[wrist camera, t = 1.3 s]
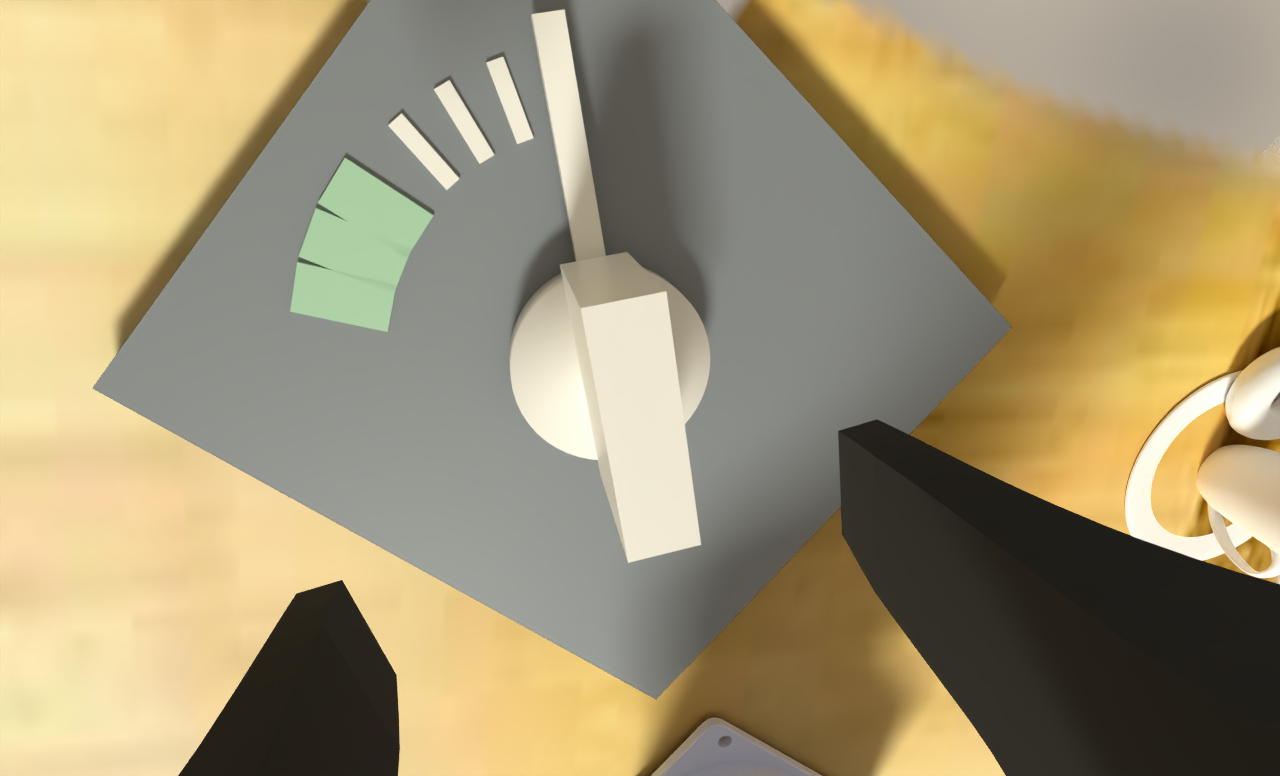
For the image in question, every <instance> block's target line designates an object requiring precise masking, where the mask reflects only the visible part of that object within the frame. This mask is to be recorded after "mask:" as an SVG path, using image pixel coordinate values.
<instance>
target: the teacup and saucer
mask: <svg viewBox="0 0 1280 776" xmlns="http://www.w3.org/2000/svg"><path fill="white" fill-rule="evenodd" d="M1262 154H1263V155H1265V156H1280V134H1279V135H1278V136H1277V137H1276V138H1275V139H1274V141H1273V142H1272V143H1271V144H1270V145H1269V146H1268V147H1267V148H1266V149H1265V150H1264V152H1263V153H1262ZM1223 402H1225V412H1226V416H1227V419H1228V421H1229V424H1230V426H1231V427H1232V428H1233V429H1234V430H1235V431H1236V432H1238V433H1239V434H1241V435H1243V436H1246V437H1248V438H1252V439H1257V440H1274V439H1278V438H1280V347H1278V348H1275V349H1273V350H1271V351H1269V352H1267V353H1265V354H1263V355H1261V356H1260V357H1258V358H1257V359H1256V360H1254V361H1253V362H1252V363H1250V364H1249V365H1248V366H1247V367H1246V368H1245V369H1244V370H1242V371H1238V372H1234V373H1231V374H1228V375H1225V376H1223V377H1220V378H1218V379H1216V380H1214V381H1212V382H1210V383H1208V384H1206V385H1205V386H1203V387H1201V388H1200V389H1198V390H1197V391H1195V392H1194V393H1192V394H1191V395H1189V396H1188V397H1187V398H1185V399H1184V400H1183V401H1182V402H1181V403H1179V404H1178V405H1177V406H1176V407H1175V408H1174V409H1173V410H1172V411H1171V412H1170V413H1169V414H1168V415H1167V416H1166V417H1165V418H1164V419H1163V420H1162V421H1161V423H1160V424H1159V425H1158V426H1157V427H1156V429H1155V430H1154V431H1153V433H1152V434H1151V435H1150V437H1149V438H1148V440H1147V441H1146V443H1145V444H1144V446H1143V448H1142V449H1141V451H1140V453H1139V455H1138V457H1137V459H1136V461H1135V464H1134V466H1133V468H1132V471H1131V474H1130V477H1129V480H1128V484H1127V489H1126V495H1125V517H1126V522H1127V526H1128V529H1129V532H1130V534H1131V536H1133V537H1135V538H1138V539H1141V540H1144V541H1147V542H1150V543H1152V544H1155V545H1158V546H1161V547H1164V548H1167V549H1169V550H1172V551H1175V552H1178V553H1181V554H1184V555H1187V556H1189V557H1192V558H1195V559H1198V560H1201V561H1202V560H1206V559H1210V558H1213V557H1216V556H1218V555H1221V554H1223V553H1226V555H1227V556H1228V557H1229V558H1230V560H1231V561H1232V562H1233V563H1234V564H1235V565H1236V566H1237V567H1239V568H1240V569H1241V570H1242V571H1244V572H1245V573H1247V574H1249V575H1252V576H1255V577H1259V578H1270V577H1274V576H1277V575H1279V574H1280V453H1278V452H1275V451H1272V450H1268V449H1264V448H1260V447H1256V446H1249V445H1227V446H1223V447H1221V448H1219V449H1217V450H1215V451H1214V452H1213V453H1211V454H1210V455H1209V456H1208V457H1207V458H1206V459H1205V461H1204V462H1203V463H1202V465H1201V467H1200V468H1199V471H1198V473H1197V477H1196V485H1197V488H1198V490H1199V492H1200V493H1201V495H1202V496H1203V497H1204V499H1205V500H1206V501H1207V503H1208V516H1209V521H1210V524H1211V527H1212V530H1213V532H1214V533H1212V534H1209V535H1205V536H1200V537H1181V536H1177V535H1174V534H1171V533H1169V532H1168V531H1166V530H1165V529H1163V528H1162V527H1161V526H1160V525H1159V523H1158V522H1157V520H1156V519H1155V517H1154V515H1153V512H1152V508H1151V500H1150V494H1151V485H1152V481H1153V477H1154V474H1155V471H1156V468H1157V466H1158V464H1159V462H1160V460H1161V458H1162V456H1163V454H1164V453H1165V451H1166V449H1167V448H1168V446H1169V445H1170V444H1171V442H1172V441H1173V440H1174V439H1175V437H1176V436H1177V435H1178V434H1179V433H1180V432H1181V431H1182V430H1183V429H1184V428H1185V427H1186V426H1187V425H1188V424H1189V423H1190V422H1191V421H1193V420H1194V419H1195V418H1196V417H1198V416H1199V415H1201V414H1202V413H1204V412H1205V411H1207V410H1208V409H1210V408H1212V407H1214V406H1216V405H1218V404H1221V403H1223ZM1222 515H1223V516H1224V517H1225V518H1227V519H1228V520H1229V521H1231V522H1232V523H1233V524H1231V525H1230V526H1228V527H1225V524H1224V520H1223V517H1222ZM1252 536H1253V537H1255V538H1256V539H1258V540H1259V541H1261V542H1262V543H1264V544H1265V545H1266V546H1268V547H1269V548H1270V551H1271V556H1272V564H1271V566H1270V567H1269V568H1268V569H1267V570H1264V571H1261V572H1257V571H1255V570H1254V569H1252V568H1251V567H1250V566H1249V565H1248V564H1247V563H1246V562H1245V561H1244V559H1243V558H1242V557H1241V556H1240V554H1239V553H1238V552H1237V550H1236V549H1235V547H1237V546H1239V545H1240V544H1242V543H1243V542H1245V541H1247V540H1248V539H1249V538H1251V537H1252ZM1278 584H1280V577H1279V582H1278Z"/></svg>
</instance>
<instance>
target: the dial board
mask: <svg viewBox="0 0 1280 776" xmlns="http://www.w3.org/2000/svg"><path fill="white" fill-rule="evenodd" d="M564 9H565V15H566V21H567V27H568V33H569V39H570V45H571V51H572V57H573V63H574V69H575V75H576V81H577V87H578V93H579V99H580V105H581V111H582V117H583V123H584V129H585V135H586V141H587V147H588V153H589V159H590V165H591V171H592V177H593V183H594V189H595V194H596V200H597V206H598V212H599V218H600V224H601V230H602V236H603V242H604V248H605V254H606V256H607V255H613V254H618V253H623V252H628V253H629V254H630V255H631V256H632V257H633V258H634V259H635V260H636V261H637V262H638V263H639V264H640V265H641V266H642V267H644V268H647V269H649V270H651V271H653V272H655V273H657V274H658V275H660V276H661V277H663V278H664V279H666V280H667V281H668V282H669V283H670V284H672V285H673V286H674V287H675V288H676V289H677V290H678V291H679V292H680V293H681V294H682V295H683V296H684V297H685V298H686V299H687V300H688V301H689V302H690V303H691V304H692V306H693V307H694V309H695V310H696V312H697V313H698V315H699V317H700V319H701V321H702V323H703V325H704V328H705V331H706V334H707V337H708V342H709V347H710V371H709V377H708V382H707V386H706V389H705V391H704V394H703V397H702V399H701V401H700V403H699V405H698V407H697V409H696V410H695V412H694V413H693V415H692V416H691V418H690V419H689V420H688V421H687V422H686V423H685V430H686V438H687V445H688V452H689V460H690V467H691V474H692V481H693V489H694V496H695V503H696V511H697V518H698V525H699V532H700V540H701V545H698V546H694V547H690V548H686V549H682V550H678V551H674V552H670V553H666V554H662V555H658V556H654V557H650V558H646V559H642V560H638V561H634V562H630V563H628V561H627V558H626V555H625V551H624V548H623V545H622V542H621V539H620V535H619V532H618V529H617V526H616V523H615V520H614V516H613V513H612V510H611V507H610V504H609V500H608V497H607V494H606V491H605V488H604V485H603V481H602V478H601V475H600V470H599V465H598V460H592V459H587V458H581V457H577V456H574V455H571V454H568V453H566V452H564V451H562V450H560V449H558V448H556V447H554V446H553V445H551V444H550V443H548V442H547V441H545V440H544V439H543V438H542V437H541V436H539V435H538V434H537V433H536V432H535V431H534V430H533V428H532V427H531V426H530V425H529V424H528V422H527V421H526V419H525V418H524V416H523V415H522V413H521V411H520V409H519V407H518V405H517V403H516V400H515V396H514V393H513V389H512V383H511V376H510V366H509V349H510V341H511V337H512V333H513V329H514V326H515V324H516V321H517V319H518V317H519V315H520V313H521V311H522V310H523V308H524V306H525V305H526V303H527V302H528V301H529V299H530V298H531V297H532V296H533V294H534V293H535V292H536V291H537V290H538V289H539V288H540V287H541V286H543V285H544V284H545V283H546V282H548V281H549V280H550V279H552V278H553V277H555V276H557V275H558V274H560V273H561V269H560V264H565V263H571V262H576V260H575V254H574V249H573V243H572V238H571V232H570V227H569V222H568V216H567V211H566V205H565V200H564V194H563V189H562V184H561V178H560V173H559V167H558V162H557V156H556V151H555V146H554V140H553V135H552V129H551V124H550V118H549V113H548V108H547V102H546V97H545V91H544V86H543V81H542V75H541V70H540V64H539V59H538V53H537V48H536V43H535V37H534V32H533V26H532V21H531V15H532V14H536V13H543V12H550V11H557V10H564ZM1011 328H1012V326H1011V325H1010V324H1009V323H1008V322H1007V321H1006V320H1005V318H1004V317H1003V316H1002V315H1001V314H1000V313H999V312H998V311H997V310H996V309H995V307H994V306H993V305H992V304H991V303H990V302H989V301H988V300H987V299H986V298H985V296H984V295H983V294H982V293H981V292H980V291H979V290H978V289H977V288H976V287H975V285H974V284H973V283H972V282H971V281H970V280H969V279H968V278H967V277H966V276H965V274H964V273H963V272H962V271H961V270H960V269H959V268H958V267H957V266H956V265H955V263H954V262H953V261H952V260H951V259H950V258H949V257H948V256H947V255H946V254H945V252H944V251H943V250H942V249H941V248H940V247H939V246H938V245H937V244H936V242H935V241H934V240H933V239H932V238H931V237H930V236H929V235H928V234H927V233H926V231H925V230H924V229H923V228H922V227H921V226H920V225H919V224H918V223H917V222H916V220H915V219H914V218H913V217H912V216H911V215H910V214H909V213H908V212H907V211H906V209H905V208H904V207H903V206H902V205H901V204H900V203H899V202H898V201H897V200H896V198H895V197H894V196H893V195H892V194H891V193H890V192H889V191H888V190H887V189H886V187H885V186H884V185H883V184H882V183H881V182H880V181H879V180H878V179H877V178H876V176H875V175H874V174H873V173H872V172H871V171H870V170H869V169H868V168H867V166H866V165H865V164H864V163H863V162H862V161H861V160H860V159H859V158H858V157H857V155H856V154H855V153H854V152H853V151H852V150H851V149H850V148H849V147H848V146H847V144H846V143H845V142H844V141H843V140H842V139H841V138H840V137H839V136H838V135H837V133H836V132H835V131H834V130H833V129H832V128H831V127H830V126H829V125H828V124H827V122H826V121H825V120H824V119H823V118H822V117H821V116H820V115H819V114H818V113H817V111H816V110H815V109H814V108H813V107H812V106H811V105H810V104H809V103H808V102H807V100H806V99H805V98H804V97H803V96H802V95H801V94H800V93H799V92H798V90H797V89H796V88H795V87H794V86H793V85H792V84H791V83H790V82H789V81H788V79H787V78H786V77H785V76H784V75H783V74H782V73H781V72H780V71H779V70H778V68H777V67H776V66H775V65H774V64H773V63H772V62H771V61H770V60H769V59H768V57H767V56H766V55H765V54H764V53H763V52H762V51H761V50H760V49H759V48H758V46H757V45H756V44H755V43H754V42H753V41H752V40H751V39H750V38H749V37H748V35H747V34H746V33H745V32H744V31H743V30H742V29H741V28H740V27H739V26H738V24H737V23H736V22H735V21H734V20H733V19H732V18H731V17H730V16H729V14H728V13H727V12H726V11H725V10H724V9H723V8H722V7H721V6H720V5H719V4H718V2H717V1H716V0H370V2H369V3H368V4H367V6H366V7H365V9H364V10H363V11H362V13H361V14H360V16H359V17H358V18H357V20H356V21H355V23H354V24H353V25H352V27H351V28H350V30H349V31H348V32H347V34H346V35H345V37H344V38H343V39H342V41H341V42H340V44H339V45H338V46H337V48H336V49H335V50H334V52H333V53H332V55H331V56H330V57H329V59H328V60H327V62H326V63H325V64H324V66H323V67H322V69H321V70H320V71H319V73H318V74H317V76H316V77H315V78H314V80H313V81H312V83H311V84H310V85H309V87H308V88H307V90H306V91H305V92H304V94H303V95H302V97H301V98H300V99H299V101H298V102H297V103H296V105H295V106H294V108H293V109H292V110H291V112H290V113H289V115H288V116H287V117H286V119H285V120H284V122H283V123H282V124H281V126H280V127H279V129H278V130H277V131H276V133H275V134H274V136H273V137H272V138H271V140H270V141H269V143H268V144H267V145H266V147H265V148H264V150H263V151H262V152H261V154H260V155H259V156H258V158H257V159H256V161H255V162H254V163H253V165H252V166H251V168H250V169H249V170H248V172H247V173H246V175H245V176H244V177H243V179H242V180H241V182H240V183H239V184H238V186H237V187H236V189H235V190H234V191H233V193H232V194H231V196H230V197H229V198H228V200H227V201H226V203H225V204H224V205H223V207H222V208H221V209H220V211H219V212H218V214H217V215H216V216H215V218H214V219H213V221H212V222H211V223H210V225H209V226H208V228H207V229H206V230H205V232H204V233H203V235H202V236H201V237H200V239H199V240H198V242H197V243H196V244H195V246H194V247H193V249H192V250H191V251H190V253H189V254H188V256H187V257H186V258H185V260H184V261H183V262H182V264H181V265H180V267H179V268H178V269H177V271H176V272H175V274H174V275H173V276H172V278H171V279H170V281H169V282H168V283H167V285H166V286H165V288H164V289H163V290H162V292H161V293H160V295H159V296H158V297H157V299H156V300H155V302H154V303H153V304H152V306H151V307H150V309H149V310H148V311H147V313H146V314H145V315H144V317H143V318H142V320H141V321H140V322H139V324H138V325H137V327H136V328H135V329H134V331H133V332H132V334H131V335H130V336H129V338H128V339H127V341H126V342H125V343H124V345H123V346H122V348H121V349H120V350H119V352H118V353H117V355H116V356H115V357H114V359H113V360H112V362H111V363H110V364H109V366H108V367H107V368H106V370H105V371H104V373H103V374H102V375H101V377H100V378H99V380H98V381H97V382H96V384H95V385H94V387H93V389H95V390H96V391H98V392H100V393H102V394H104V395H105V396H107V397H109V398H111V399H113V400H115V401H116V402H118V403H120V404H122V405H124V406H125V407H127V408H129V409H131V410H133V411H134V412H136V413H138V414H140V415H142V416H144V417H145V418H147V419H149V420H151V421H153V422H154V423H156V424H158V425H160V426H162V427H163V428H165V429H167V430H169V431H171V432H173V433H174V434H176V435H178V436H180V437H182V438H183V439H185V440H187V441H189V442H191V443H192V444H194V445H196V446H198V447H200V448H201V449H203V450H205V451H207V452H209V453H211V454H212V455H214V456H216V457H218V458H220V459H221V460H223V461H225V462H227V463H229V464H230V465H232V466H234V467H236V468H238V469H240V470H241V471H243V472H245V473H247V474H249V475H250V476H252V477H254V478H256V479H258V480H259V481H261V482H263V483H265V484H267V485H269V486H270V487H272V488H274V489H276V490H278V491H279V492H281V493H283V494H285V495H287V496H288V497H290V498H292V499H294V500H296V501H297V502H299V503H301V504H303V505H305V506H307V507H308V508H310V509H312V510H314V511H316V512H317V513H319V514H321V515H323V516H325V517H326V518H328V519H330V520H332V521H334V522H336V523H337V524H339V525H341V526H343V527H345V528H346V529H348V530H350V531H352V532H354V533H355V534H357V535H359V536H361V537H363V538H365V539H366V540H368V541H370V542H372V543H374V544H375V545H377V546H379V547H381V548H383V549H384V550H386V551H388V552H390V553H392V554H394V555H395V556H397V557H399V558H401V559H403V560H404V561H406V562H408V563H410V564H412V565H413V566H415V567H417V568H419V569H421V570H422V571H424V572H426V573H428V574H430V575H432V576H433V577H435V578H437V579H439V580H441V581H442V582H444V583H446V584H448V585H450V586H451V587H453V588H455V589H457V590H459V591H461V592H462V593H464V594H466V595H468V596H470V597H471V598H473V599H475V600H477V601H479V602H480V603H482V604H484V605H486V606H488V607H490V608H491V609H493V610H495V611H497V612H499V613H500V614H502V615H504V616H506V617H508V618H509V619H511V620H513V621H515V622H517V623H518V624H520V625H522V626H524V627H526V628H528V629H529V630H531V631H533V632H535V633H537V634H538V635H540V636H542V637H544V638H546V639H547V640H549V641H551V642H553V643H555V644H557V645H558V646H560V647H562V648H564V649H566V650H567V651H569V652H571V653H573V654H575V655H576V656H578V657H580V658H582V659H584V660H586V661H587V662H589V663H591V664H593V665H595V666H596V667H598V668H600V669H602V670H604V671H605V672H607V673H609V674H611V675H613V676H614V677H616V678H618V679H620V680H622V681H624V682H625V683H627V684H629V685H631V686H633V687H634V688H636V689H638V690H640V691H642V692H643V693H645V694H647V695H649V696H651V697H653V698H654V699H657V698H658V697H659V696H660V695H661V694H662V693H663V692H664V691H665V690H666V689H667V688H668V686H669V685H670V684H671V683H672V682H673V681H674V680H675V679H676V678H677V677H678V676H679V675H680V674H681V673H682V672H683V671H684V670H685V669H686V668H687V667H688V666H689V665H690V664H691V662H692V661H693V660H694V659H695V658H696V657H697V656H698V655H699V654H700V653H701V652H702V651H703V650H704V649H705V648H706V647H707V646H708V645H709V644H710V643H711V642H712V641H713V639H714V638H715V637H716V636H717V635H718V634H719V633H720V632H721V631H722V630H723V629H724V628H725V627H726V626H727V625H728V624H729V623H730V622H731V621H732V620H733V619H734V618H735V616H736V615H737V614H738V613H739V612H740V611H741V610H742V609H743V608H744V607H745V606H746V605H747V604H748V603H749V602H750V601H751V600H752V599H753V598H754V597H755V596H756V595H757V593H758V592H759V591H760V590H761V589H762V588H763V587H764V586H765V585H766V584H767V583H768V582H769V581H770V580H771V579H772V578H773V577H774V576H775V575H776V574H777V573H778V572H779V570H780V569H781V568H782V567H783V566H784V565H785V564H786V563H787V562H788V561H789V560H790V559H791V558H792V557H793V556H794V555H795V554H796V553H797V552H798V551H799V550H800V549H801V547H802V546H803V545H804V544H805V543H806V542H807V541H808V540H809V539H810V538H811V537H812V536H813V535H814V534H815V533H816V532H817V531H818V530H819V529H820V528H821V527H822V526H823V524H824V523H825V522H826V521H827V520H828V519H829V518H830V517H831V516H832V515H833V514H834V513H835V512H836V511H837V510H838V509H839V508H840V507H841V492H840V467H839V441H838V431H839V430H843V429H846V428H849V427H853V426H856V425H859V424H863V423H866V422H869V421H873V420H876V419H877V420H880V421H882V422H884V423H886V424H888V425H890V426H892V427H894V428H896V429H899V430H901V431H903V432H905V433H907V434H909V435H910V434H911V433H912V431H913V430H914V429H915V428H916V427H917V426H918V425H919V424H920V423H921V422H922V421H923V420H924V419H925V418H926V417H927V416H928V415H929V414H930V413H931V412H932V411H933V410H934V408H935V407H936V406H937V405H938V404H939V403H940V402H941V401H942V400H943V399H944V398H945V397H946V396H947V395H948V394H949V393H950V392H951V391H952V390H953V389H954V388H955V387H956V385H957V384H958V383H959V382H960V381H961V380H962V379H963V378H964V377H965V376H966V375H967V374H968V373H969V372H970V371H971V370H972V369H973V368H974V367H975V366H976V365H977V364H978V362H979V361H980V360H981V359H982V358H983V357H984V356H985V355H986V354H987V353H988V352H989V351H990V350H991V349H992V348H993V347H994V346H995V345H996V344H997V343H998V342H999V341H1000V340H1001V338H1002V337H1003V336H1004V335H1005V334H1006V333H1007V332H1008V331H1009V330H1010V329H1011Z"/></svg>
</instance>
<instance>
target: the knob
mask: <svg viewBox="0 0 1280 776" xmlns="http://www.w3.org/2000/svg"><path fill="white" fill-rule="evenodd" d="M531 21H532V26H533V32H534V37H535V43H536V48H537V53H538V59H539V64H540V70H541V75H542V81H543V86H544V91H545V97H546V102H547V108H548V113H549V118H550V124H551V129H552V135H553V140H554V146H555V151H556V156H557V162H558V167H559V173H560V178H561V184H562V189H563V194H564V200H565V205H566V211H567V216H568V222H569V227H570V232H571V238H572V243H573V249H574V254H575V260H576V262H571V263H565V264H560V269H561V273H560V274H558V275H557V276H555V277H553V278H552V279H550V280H549V281H548V282H546V283H545V284H544V285H543V286H541V287H540V288H539V289H538V290H537V291H536V292H535V293H534V294H533V296H532V297H531V298H530V299H529V301H528V302H527V303H526V305H525V306H524V308H523V310H522V311H521V313H520V315H519V317H518V319H517V321H516V324H515V326H514V329H513V333H512V337H511V341H510V349H509V366H510V376H511V383H512V389H513V393H514V396H515V400H516V403H517V405H518V407H519V409H520V411H521V413H522V415H523V416H524V418H525V419H526V421H527V422H528V424H529V425H530V426H531V427H532V428H533V430H534V431H535V432H536V433H537V434H538V435H539V436H541V437H542V438H543V439H544V440H545V441H547V442H548V443H550V444H551V445H553V446H554V447H556V448H558V449H560V450H562V451H564V452H566V453H568V454H571V455H574V456H577V457H581V458H587V459H592V460H598V465H599V470H600V475H601V478H602V481H603V485H604V488H605V491H606V494H607V497H608V500H609V504H610V507H611V510H612V513H613V516H614V520H615V523H616V526H617V529H618V532H619V535H620V539H621V542H622V545H623V548H624V551H625V555H626V558H627V561H628V563H630V562H634V561H638V560H642V559H646V558H650V557H654V556H658V555H662V554H666V553H670V552H674V551H678V550H682V549H686V548H690V547H694V546H698V545H701V540H700V532H699V525H698V518H697V511H696V503H695V496H694V489H693V481H692V474H691V467H690V460H689V452H688V445H687V438H686V430H685V423H686V422H687V421H688V420H689V419H690V418H691V416H692V415H693V413H694V412H695V410H696V409H697V407H698V405H699V403H700V401H701V399H702V397H703V394H704V391H705V389H706V386H707V382H708V377H709V371H710V347H709V342H708V337H707V334H706V331H705V328H704V325H703V323H702V321H701V319H700V317H699V315H698V313H697V312H696V310H695V309H694V307H693V306H692V304H691V303H690V302H689V301H688V300H687V299H686V298H685V297H684V296H683V295H682V294H681V293H680V292H679V291H678V290H677V289H676V288H675V287H674V286H673V285H672V284H670V283H669V282H668V281H667V280H666V279H664V278H663V277H661V276H660V275H658V274H657V273H655V272H653V271H651V270H649V269H647V268H644V267H642V266H641V265H640V264H639V263H638V262H637V261H636V260H635V259H634V258H633V257H632V256H631V255H630V254H629V253H628V252H623V253H618V254H613V255H607V256H606V254H605V248H604V242H603V236H602V230H601V224H600V218H599V212H598V206H597V200H596V194H595V189H594V183H593V177H592V171H591V165H590V159H589V153H588V147H587V141H586V135H585V129H584V123H583V117H582V111H581V105H580V99H579V93H578V87H577V81H576V75H575V69H574V63H573V57H572V51H571V45H570V39H569V33H568V27H567V21H566V15H565V9H564V10H557V11H550V12H543V13H536V14H532V15H531Z"/></svg>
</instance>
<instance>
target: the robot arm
mask: <svg viewBox="0 0 1280 776" xmlns="http://www.w3.org/2000/svg"><path fill="white" fill-rule="evenodd" d="M838 441H839V467H840V492H841V517H842V534H843V536H844V538H845V540H846V541H847V543H848V545H849V547H850V549H851V551H852V552H853V554H854V556H855V558H856V560H857V562H858V563H859V565H860V567H861V569H862V570H863V572H864V574H865V576H866V577H867V579H868V581H869V583H870V584H871V586H872V588H873V589H874V591H875V593H876V594H877V596H878V597H879V598H880V600H881V601H882V603H883V604H884V605H885V607H886V608H887V609H888V611H889V612H890V614H891V615H892V616H893V618H894V619H895V620H896V622H897V623H898V624H899V626H900V627H901V629H902V630H903V631H904V633H905V634H906V635H907V637H908V638H909V639H910V641H911V642H912V643H913V645H914V646H915V648H916V649H917V650H918V652H919V653H920V654H921V656H922V657H923V658H924V660H925V661H926V662H927V664H928V665H929V666H930V668H931V669H932V670H933V672H934V673H935V674H936V676H937V677H938V678H939V680H940V681H941V683H942V684H943V685H944V687H945V688H946V689H947V691H948V692H949V693H950V695H951V696H952V697H953V699H954V700H955V701H956V703H957V704H958V705H959V707H960V708H961V709H962V711H963V712H964V713H965V715H966V716H967V718H968V719H969V720H970V722H971V723H972V724H973V726H974V727H975V729H976V730H977V732H978V733H979V735H980V736H981V738H982V739H983V740H984V742H985V743H986V745H987V746H988V748H989V749H990V751H991V752H992V754H993V755H994V757H995V759H996V760H997V762H998V763H999V765H1000V767H1001V768H1002V770H1003V772H1004V773H1005V775H1006V776H1280V584H1276V583H1273V582H1269V581H1266V580H1262V579H1259V578H1255V577H1252V576H1248V575H1245V574H1242V573H1238V572H1235V571H1232V570H1229V569H1226V568H1223V567H1219V566H1216V565H1213V564H1210V563H1207V562H1204V561H1201V560H1198V559H1195V558H1192V557H1189V556H1187V555H1184V554H1181V553H1178V552H1175V551H1172V550H1169V549H1167V548H1164V547H1161V546H1158V545H1155V544H1152V543H1150V542H1147V541H1144V540H1141V539H1138V538H1135V537H1133V536H1130V535H1128V534H1125V533H1122V532H1120V531H1117V530H1115V529H1112V528H1109V527H1107V526H1104V525H1102V524H1100V523H1097V522H1095V521H1092V520H1090V519H1088V518H1085V517H1083V516H1080V515H1078V514H1076V513H1073V512H1071V511H1068V510H1066V509H1064V508H1061V507H1059V506H1056V505H1054V504H1052V503H1050V502H1047V501H1045V500H1043V499H1041V498H1038V497H1036V496H1034V495H1032V494H1029V493H1027V492H1025V491H1023V490H1021V489H1019V488H1016V487H1014V486H1012V485H1010V484H1008V483H1006V482H1004V481H1001V480H999V479H997V478H995V477H993V476H991V475H989V474H987V473H985V472H983V471H981V470H979V469H976V468H974V467H972V466H970V465H968V464H966V463H964V462H962V461H960V460H958V459H956V458H954V457H952V456H950V455H948V454H946V453H944V452H942V451H940V450H938V449H936V448H934V447H932V446H930V445H928V444H926V443H924V442H922V441H920V440H918V439H916V438H915V437H913V436H911V435H909V434H907V433H905V432H903V431H901V430H899V429H896V428H894V427H892V426H890V425H888V424H886V423H884V422H882V421H880V420H877V419H876V420H873V421H869V422H866V423H863V424H859V425H856V426H853V427H849V428H846V429H843V430H839V431H838ZM723 736H725V737H724V738H721V737H723ZM399 750H400V744H399V713H398V695H397V678H396V674H395V672H394V670H393V668H392V667H391V665H390V663H389V661H388V660H387V658H386V656H385V654H384V653H383V651H382V649H381V647H380V646H379V644H378V642H377V640H376V639H375V637H374V635H373V633H372V632H371V630H370V628H369V626H368V625H367V623H366V621H365V619H364V618H363V616H362V614H361V612H360V611H359V609H358V607H357V605H356V604H355V602H354V600H353V598H352V597H351V595H350V593H349V591H348V590H347V588H346V586H345V584H344V583H343V581H342V580H341V581H337V582H334V583H331V584H327V585H324V586H321V587H317V588H314V589H311V590H307V591H304V592H301V593H297V594H296V595H295V597H294V598H293V600H292V601H291V603H290V604H289V606H288V607H287V609H286V611H285V612H284V614H283V615H282V617H281V618H280V620H279V622H278V623H277V625H276V626H275V628H274V630H273V631H272V633H271V634H270V636H269V638H268V639H267V641H266V642H265V644H264V646H263V647H262V649H261V650H260V652H259V654H258V655H257V657H256V658H255V660H254V662H253V663H252V665H251V666H250V668H249V670H248V671H247V673H246V674H245V676H244V677H243V679H242V681H241V682H240V684H239V685H238V687H237V689H236V690H235V692H234V693H233V695H232V696H231V698H230V699H229V701H228V702H227V704H226V706H225V707H224V709H223V710H222V712H221V713H220V715H219V716H218V718H217V719H216V721H215V723H214V724H213V726H212V727H211V729H210V730H209V732H208V733H207V735H206V736H205V738H204V739H203V741H202V743H201V744H200V746H199V747H198V748H197V750H196V751H195V753H194V754H193V756H192V757H191V758H190V760H189V761H188V763H187V764H186V766H185V767H184V768H183V770H182V771H181V773H180V774H179V776H398V765H399ZM651 776H822V775H820V774H818V773H817V772H815V771H813V770H811V769H810V768H808V767H806V766H804V765H802V764H801V763H799V762H797V761H795V760H794V759H792V758H790V757H788V756H787V755H785V754H783V753H781V752H779V751H778V750H776V749H774V748H772V747H771V746H769V745H767V744H765V743H763V742H762V741H760V740H758V739H756V738H755V737H753V736H751V735H749V734H748V733H746V732H744V731H742V730H740V729H739V728H737V727H735V726H733V725H732V724H730V723H728V722H726V721H725V720H723V719H720V718H710V719H707V720H706V721H704V722H703V723H702V724H701V725H700V726H699V727H698V728H697V729H696V730H695V731H694V732H693V733H692V734H691V735H690V736H689V737H688V738H687V739H686V740H685V741H684V742H683V743H682V744H681V745H680V747H679V748H678V749H677V750H676V751H675V752H674V753H673V754H672V755H671V756H670V757H669V758H668V759H667V760H666V761H665V762H664V763H663V764H662V765H661V766H660V767H659V768H658V769H657V770H656V771H655V772H654V773H653V774H652V775H651Z"/></svg>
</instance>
